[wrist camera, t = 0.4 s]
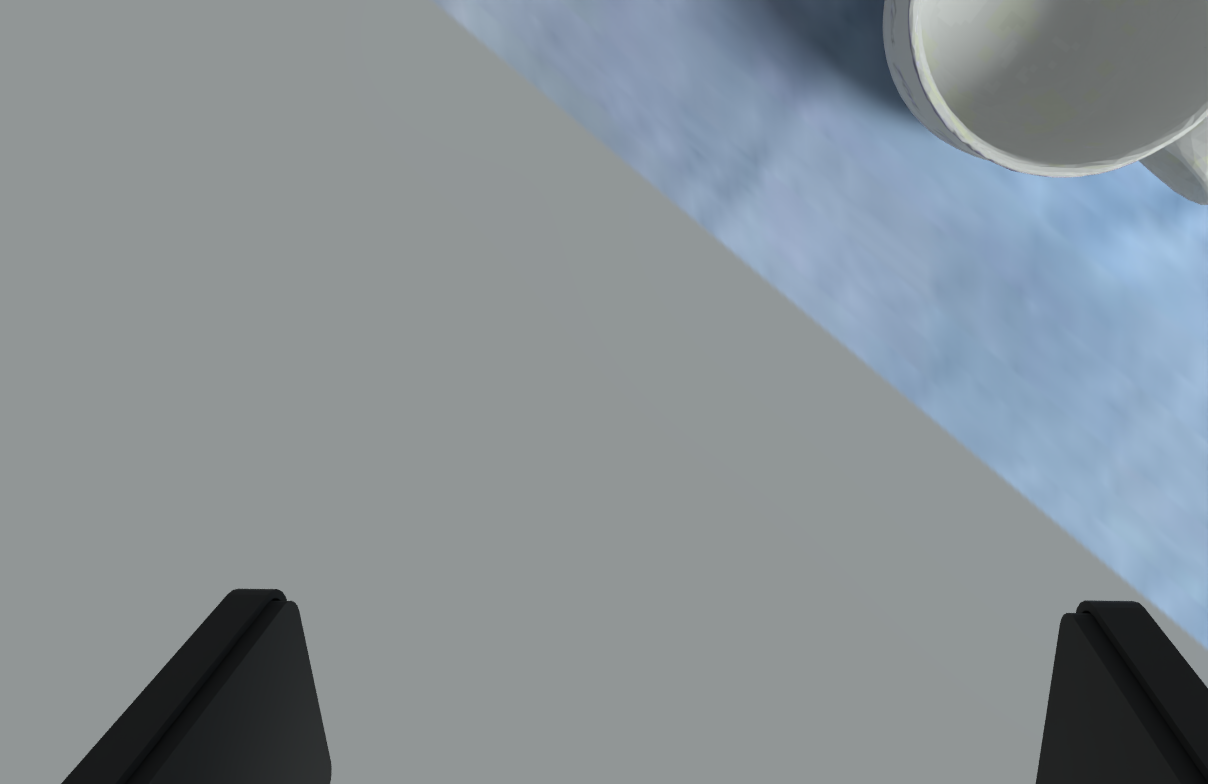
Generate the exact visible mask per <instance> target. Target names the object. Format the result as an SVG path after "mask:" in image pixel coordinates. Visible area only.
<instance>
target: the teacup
mask: <svg viewBox="0 0 1208 784" xmlns="http://www.w3.org/2000/svg"><path fill="white" fill-rule="evenodd" d="M883 40H884V49H885V54H886V59H887V64H888V67H889V70H890V73H891V76H892V79H893V81H894V83H895V86H896V88H897V90H898V92H899V94H900V96H901V98H902V99H903V101H904V102H905V104H906V105H907V107H908V108H909V109H910V111H911V112H912V114H913V115H914V116H915V117H916V118H917V119H918V120H919V121H920V122H921V123H922V124H923V125H924V126H925V127H926V128H927V129H928V130H929V131H930V132H932V133H933V134H934V135H935V136H937V137H938V138H939V139H941V140H943V141H944V142H946V143H948V144H949V145H951V146H953V147H955V148H957V149H959V150H961V151H963V152H966V153H968V154H970V155H973V156H976V157H979V158H982V159H985V160H989V161H991V162H993V163H995V164H998V165H1000V166H1002V167H1005V168H1007V169H1009V170H1011V171H1016V172H1021V173H1027V174H1032V175H1039V176H1045V177H1081V176H1086V175H1095V174H1101V173H1105V172H1108V171H1112V170H1115V169H1118V168H1121V167H1124V166H1127V165H1129V164H1132V163H1134V162H1136V161H1139V162H1141V163H1142V164H1143V165H1144V166H1145V167H1146V168H1147V169H1148V170H1149V171H1151V172H1152V173H1153V174H1154V175H1155V176H1156V177H1158V178H1159V179H1160V180H1161V181H1162V182H1164V183H1165V184H1166V185H1167V186H1168V187H1170V188H1171V189H1172V190H1173V191H1175V192H1176V193H1178V194H1180V195H1181V196H1183V197H1185V198H1186V199H1188V200H1190V201H1193V202H1195V203H1198V204H1200V205H1208V0H885V2H884V11H883Z"/></svg>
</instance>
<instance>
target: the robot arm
mask: <svg viewBox="0 0 1208 784" xmlns="http://www.w3.org/2000/svg"><path fill="white" fill-rule="evenodd" d="M330 781H331V760H330V756H329V751H328V746H327V742H326V736H325V732H324V727H323V723H322V717H321V713H320V708H319V703H318V698H317V693H316V689H315V685H314V679H313V674H312V670H311V665H310V660H309V655H308V651H307V646H306V641H305V636H304V632H303V627H302V623H301V617H300V613H299V609H298V607H297V605H296V603H295V602H292V601H287V599H286V597H285V595H284V594H283V592H282V591H280V590H277V589H236V590H233V591H231V592H230V593H229V594H228V595H227V596H226V597H225V598H224V599H223V600H222V601H221V603H220V604H219V605H218V606H217V607H216V608H215V609H214V611H213V612H212V613H211V614H210V615H209V616H208V617H207V619H206V620H205V621H204V622H203V623H202V624H201V625H200V626H199V628H198V629H197V630H196V631H195V632H194V633H193V634H192V636H191V637H190V638H189V639H188V640H187V641H186V642H185V644H184V645H183V646H182V647H181V648H180V649H179V650H178V651H177V653H176V654H175V655H174V656H173V657H172V658H171V659H170V661H169V662H168V663H167V664H166V665H165V666H164V667H163V669H162V670H161V671H160V672H159V673H158V674H157V675H156V676H155V678H154V679H153V680H152V681H151V682H150V684H148V686H147V687H146V688H145V689H144V690H143V691H142V692H141V694H140V695H139V696H138V697H137V698H136V699H135V700H134V702H133V703H132V704H131V705H130V706H129V707H128V708H127V710H126V711H125V712H124V713H123V714H122V716H120V717H119V719H118V720H117V721H116V722H115V723H114V724H113V726H112V727H111V728H110V729H109V730H108V731H107V732H106V733H105V735H104V736H103V737H102V738H101V739H100V740H99V741H98V743H97V744H96V745H95V746H94V747H93V748H92V749H91V750H90V752H89V753H88V754H87V755H86V756H85V757H84V759H83V760H82V761H81V762H80V763H79V764H78V765H77V767H76V768H75V769H74V770H73V771H72V772H71V773H70V774H69V775H68V777H67V778H66V779H65V780H64V781H63V782H62V783H61V784H330ZM1036 784H1208V688H1207V687H1206V686H1205V685H1204V683H1203V682H1202V680H1201V679H1200V678H1199V677H1198V675H1197V674H1196V673H1195V672H1194V670H1193V669H1192V668H1191V667H1190V665H1189V664H1188V663H1187V661H1186V660H1185V659H1184V658H1183V656H1182V655H1181V654H1180V653H1179V651H1178V650H1177V649H1176V647H1175V646H1174V645H1173V644H1172V642H1171V641H1170V640H1169V639H1168V637H1167V636H1166V635H1165V633H1164V632H1163V631H1162V630H1161V629H1160V627H1159V626H1158V625H1157V623H1156V622H1155V621H1154V619H1153V618H1152V617H1151V616H1150V614H1149V613H1148V612H1147V611H1146V609H1145V608H1144V607H1143V606H1142V605H1141V604H1140V603H1138V602H1134V601H1083V602H1081V603H1080V604H1079V606H1078V608H1077V610H1076V613H1066V614H1064V615H1063V617H1062V619H1061V623H1060V628H1059V635H1058V641H1057V648H1056V654H1055V661H1054V667H1053V674H1052V680H1051V687H1050V694H1049V700H1048V707H1047V714H1046V720H1045V726H1044V733H1043V740H1042V746H1041V753H1040V760H1039V766H1038V773H1037V779H1036Z"/></svg>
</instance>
